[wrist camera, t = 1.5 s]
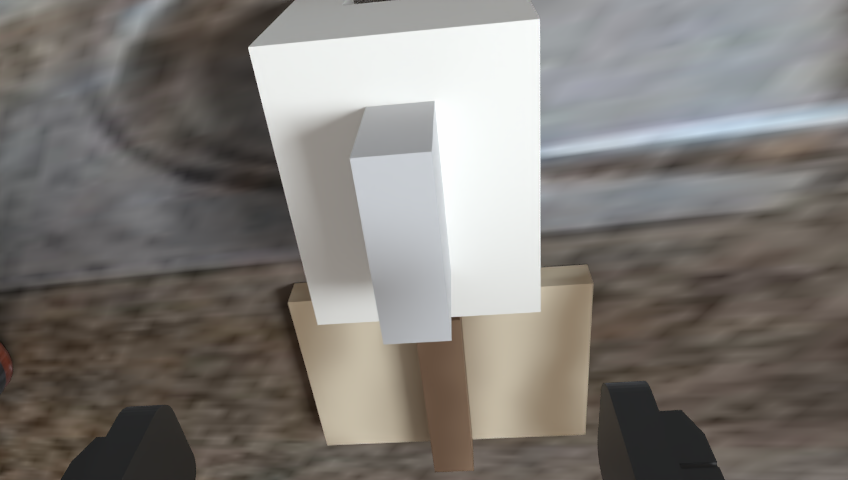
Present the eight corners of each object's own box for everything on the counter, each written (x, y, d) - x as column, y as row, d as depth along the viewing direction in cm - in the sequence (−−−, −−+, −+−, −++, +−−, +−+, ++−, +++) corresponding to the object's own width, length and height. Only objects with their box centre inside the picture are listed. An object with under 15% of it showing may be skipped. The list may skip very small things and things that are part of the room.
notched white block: (515, -27, 22) (560, 56, 14) (520, 212, 28) (555, 384, 19) (299, -5, 23) (206, 88, 14) (344, 225, 28) (297, 397, 19)
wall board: (587, 264, 29) (602, 311, 26) (580, 412, 34) (592, 466, 31) (294, 283, 30) (277, 330, 27) (331, 423, 35) (321, 476, 32)
